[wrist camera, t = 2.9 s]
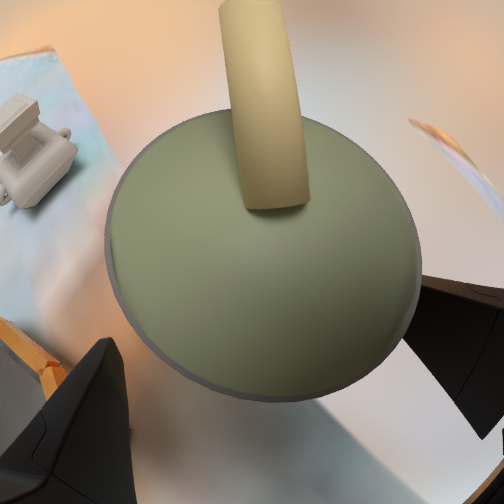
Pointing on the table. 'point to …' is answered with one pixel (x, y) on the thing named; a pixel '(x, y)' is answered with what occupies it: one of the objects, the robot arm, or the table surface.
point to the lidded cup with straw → (262, 237)
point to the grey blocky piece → (30, 153)
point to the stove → (23, 381)
